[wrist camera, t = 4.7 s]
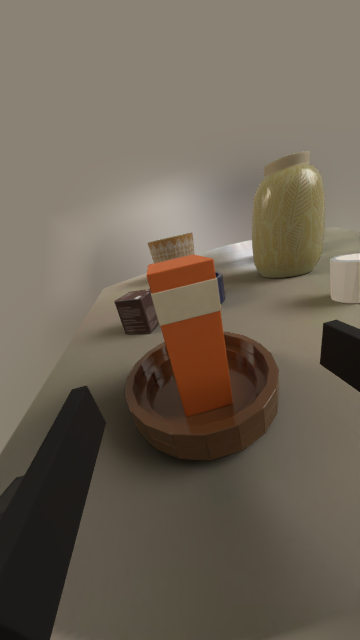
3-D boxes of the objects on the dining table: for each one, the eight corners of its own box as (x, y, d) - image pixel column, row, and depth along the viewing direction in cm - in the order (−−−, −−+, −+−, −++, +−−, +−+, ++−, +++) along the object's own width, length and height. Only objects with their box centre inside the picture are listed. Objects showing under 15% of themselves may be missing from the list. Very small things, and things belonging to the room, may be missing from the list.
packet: (185, 418, 17) (145, 274, 12) (176, 372, 23) (147, 265, 18) (234, 404, 17) (214, 258, 12) (212, 363, 24) (193, 254, 19)
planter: (162, 285, 77) (151, 241, 70) (153, 279, 94) (144, 243, 88) (206, 272, 81) (199, 230, 74) (189, 269, 98) (183, 235, 92)
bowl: (128, 492, 14) (111, 462, 12) (139, 369, 27) (132, 348, 26) (320, 435, 14) (324, 400, 13) (238, 343, 28) (236, 321, 26)
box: (139, 321, 44) (129, 291, 41) (162, 320, 42) (154, 288, 39) (125, 335, 39) (113, 301, 36) (151, 333, 37) (140, 297, 34)
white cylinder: (390, 302, 29) (401, 255, 26) (336, 306, 31) (341, 263, 29) (365, 289, 35) (371, 249, 32) (320, 293, 37) (323, 256, 35)
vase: (295, 262, 64) (298, 165, 54) (338, 269, 48) (353, 134, 38) (245, 274, 65) (238, 179, 54) (271, 284, 49) (268, 154, 38)
